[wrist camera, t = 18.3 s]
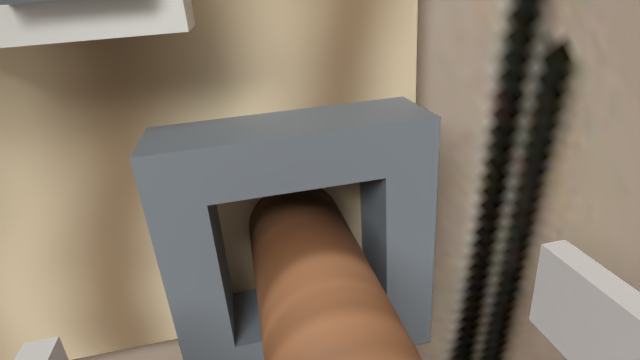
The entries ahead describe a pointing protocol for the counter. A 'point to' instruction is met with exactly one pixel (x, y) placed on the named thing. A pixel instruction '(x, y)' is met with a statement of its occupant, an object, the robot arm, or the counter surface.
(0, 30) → the block
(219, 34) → the plywood panel
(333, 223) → the awl
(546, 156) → the counter surface
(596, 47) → the counter surface
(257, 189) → the socket
